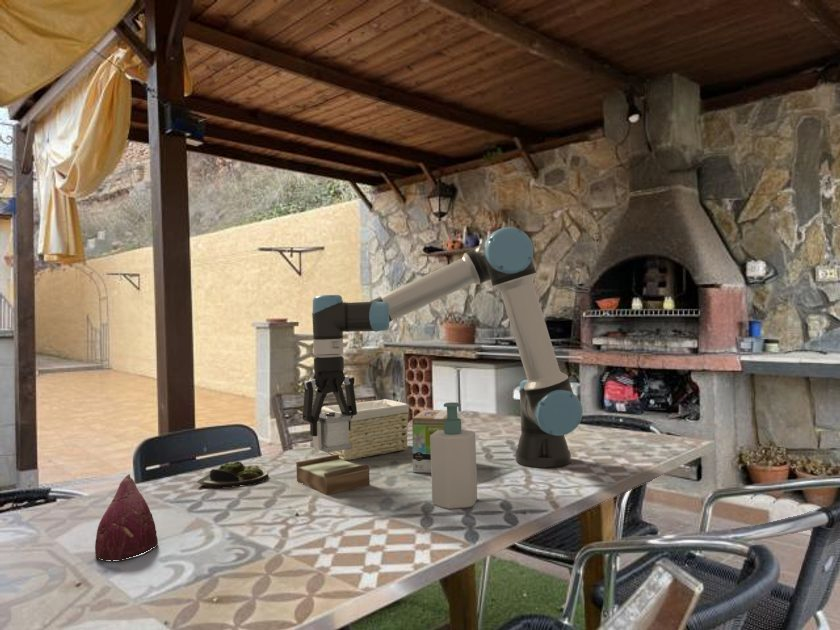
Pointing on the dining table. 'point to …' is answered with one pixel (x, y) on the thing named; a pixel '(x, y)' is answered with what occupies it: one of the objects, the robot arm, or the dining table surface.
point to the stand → (332, 474)
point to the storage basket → (375, 428)
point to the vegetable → (125, 525)
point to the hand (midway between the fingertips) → (331, 446)
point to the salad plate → (233, 475)
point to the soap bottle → (453, 463)
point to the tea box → (425, 437)
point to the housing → (334, 432)
